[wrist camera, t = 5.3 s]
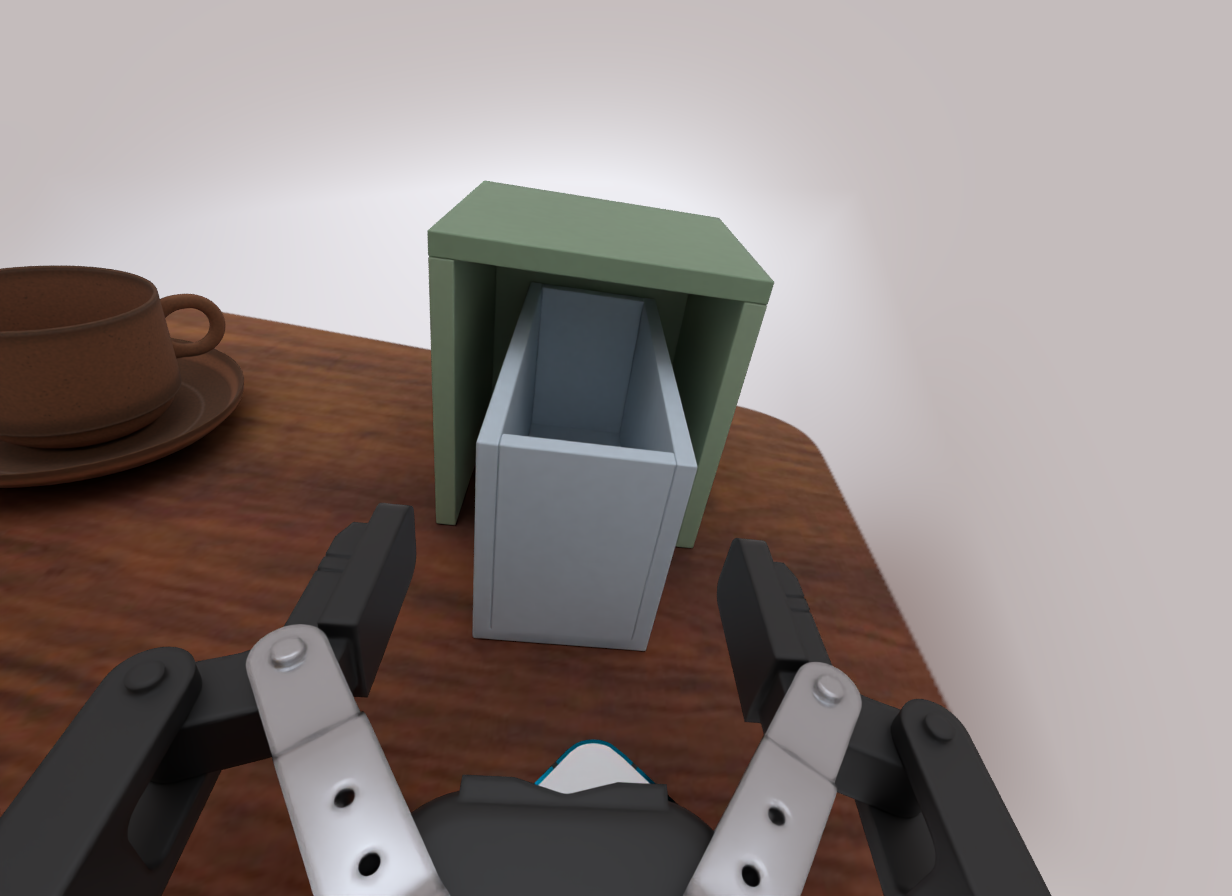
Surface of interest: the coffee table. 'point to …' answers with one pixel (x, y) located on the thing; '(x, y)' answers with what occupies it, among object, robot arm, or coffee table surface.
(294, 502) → the coffee table surface
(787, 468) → the coffee table surface
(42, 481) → the cup and saucer
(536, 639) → the bin
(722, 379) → the cabinet
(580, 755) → the smartphone
